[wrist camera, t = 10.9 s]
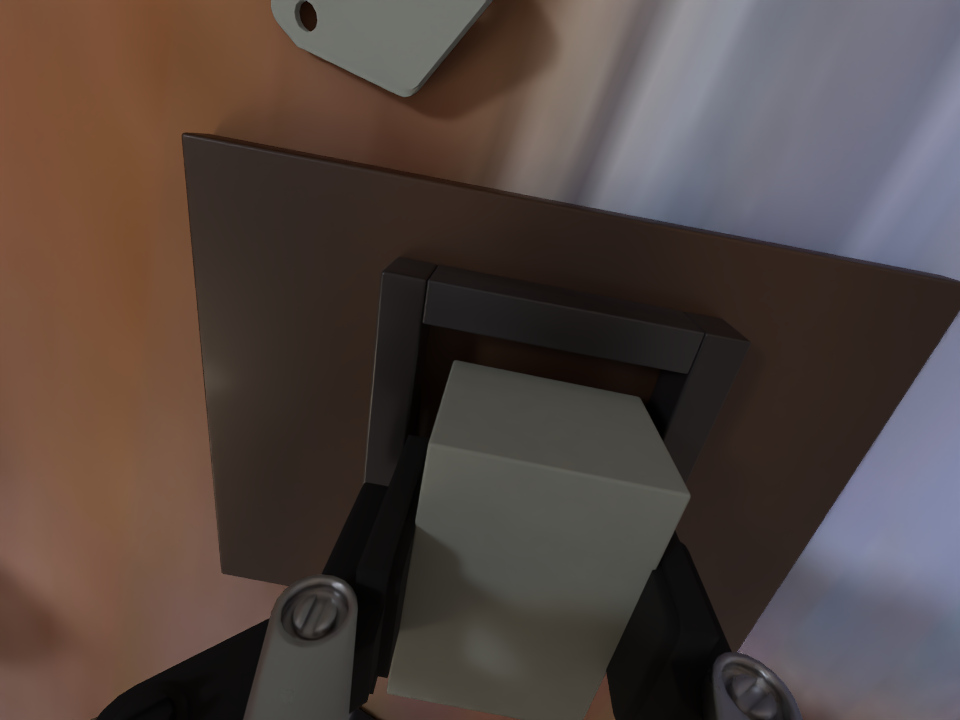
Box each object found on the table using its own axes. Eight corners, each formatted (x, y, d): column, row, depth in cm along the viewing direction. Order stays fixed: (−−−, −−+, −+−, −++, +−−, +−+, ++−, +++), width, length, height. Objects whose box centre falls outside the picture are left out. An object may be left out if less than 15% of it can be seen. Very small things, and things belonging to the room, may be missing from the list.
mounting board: (236, 551, 17) (192, 613, 15) (207, 132, 11) (126, 128, 9) (715, 641, 17) (746, 717, 15) (940, 274, 11) (1049, 306, 9)
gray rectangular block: (416, 568, 14) (386, 695, 10) (453, 358, 11) (427, 443, 8) (563, 597, 14) (578, 731, 10) (640, 395, 11) (693, 496, 8)
